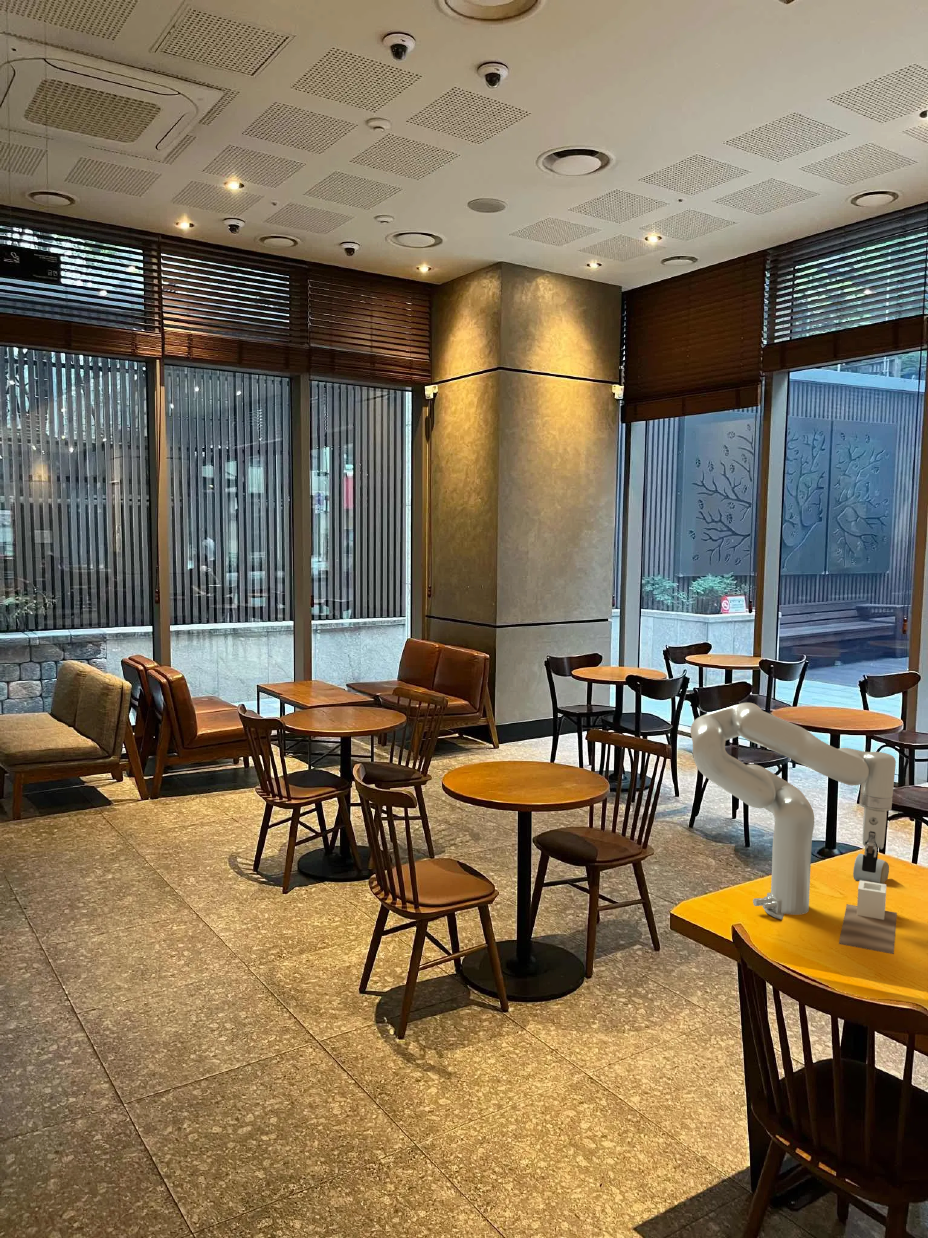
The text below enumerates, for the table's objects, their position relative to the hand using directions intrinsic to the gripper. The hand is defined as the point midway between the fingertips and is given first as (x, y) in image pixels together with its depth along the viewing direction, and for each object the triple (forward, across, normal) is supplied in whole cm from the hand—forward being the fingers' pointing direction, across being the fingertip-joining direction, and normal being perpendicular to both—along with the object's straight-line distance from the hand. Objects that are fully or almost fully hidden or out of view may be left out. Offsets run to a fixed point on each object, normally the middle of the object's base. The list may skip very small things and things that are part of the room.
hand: (869, 865), depth 240 cm
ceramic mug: (+14, +28, 0) cm, 31 cm away
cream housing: (+12, 0, -1) cm, 13 cm away
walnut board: (+14, -10, -1) cm, 17 cm away
